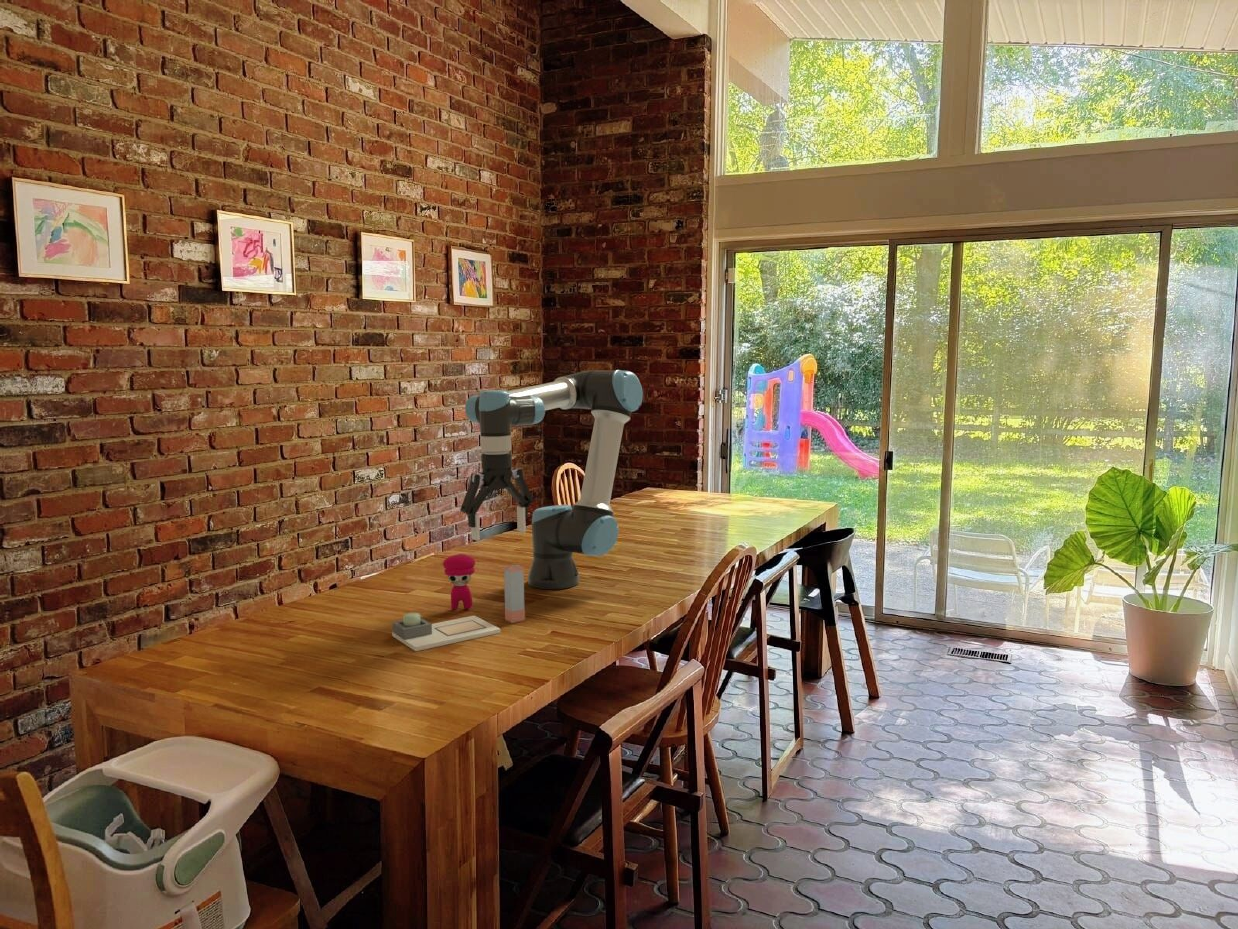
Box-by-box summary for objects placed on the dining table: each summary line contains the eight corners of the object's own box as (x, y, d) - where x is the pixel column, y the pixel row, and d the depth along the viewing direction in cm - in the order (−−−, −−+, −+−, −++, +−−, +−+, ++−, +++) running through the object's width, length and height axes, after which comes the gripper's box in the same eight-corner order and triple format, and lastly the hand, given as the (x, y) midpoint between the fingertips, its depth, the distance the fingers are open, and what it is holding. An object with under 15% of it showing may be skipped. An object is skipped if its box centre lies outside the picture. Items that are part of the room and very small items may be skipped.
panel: (474, 619, 227) (474, 606, 226) (500, 632, 215) (500, 619, 215) (392, 636, 214) (391, 622, 213) (415, 651, 203) (414, 636, 202)
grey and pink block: (517, 617, 228) (516, 564, 226) (524, 620, 225) (523, 566, 224) (505, 619, 226) (503, 566, 224) (512, 623, 223) (510, 569, 221)
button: (416, 623, 215) (416, 611, 215) (423, 627, 212) (422, 615, 212) (401, 626, 213) (400, 614, 212) (407, 631, 210) (407, 618, 209)
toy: (445, 615, 230) (443, 559, 228) (443, 606, 238) (441, 552, 236) (478, 612, 232) (476, 557, 231) (475, 604, 240) (473, 550, 238)
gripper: (529, 446, 231) (531, 526, 233) (444, 455, 215) (447, 540, 218) (545, 449, 225) (548, 530, 228) (459, 458, 209) (463, 545, 212)
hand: (499, 535), depth 223 cm, fingers open, 13 cm apart
